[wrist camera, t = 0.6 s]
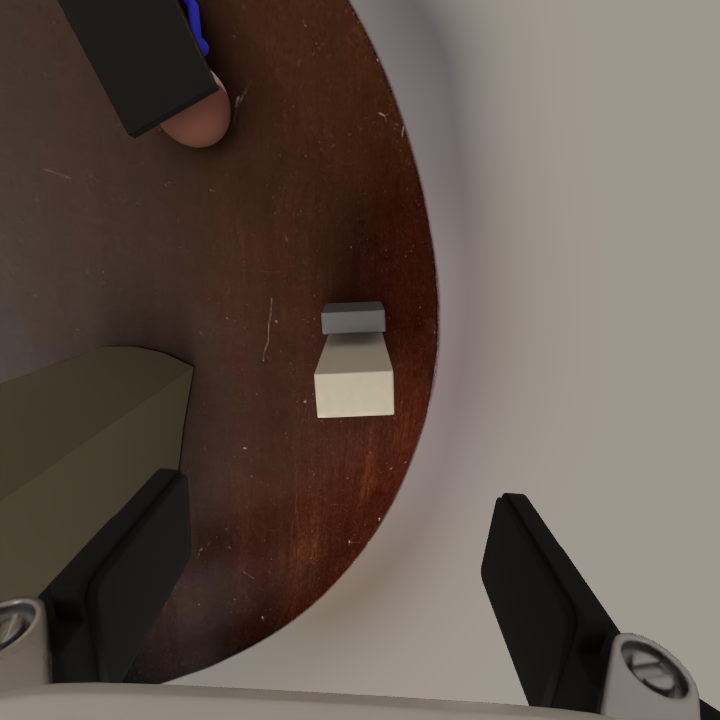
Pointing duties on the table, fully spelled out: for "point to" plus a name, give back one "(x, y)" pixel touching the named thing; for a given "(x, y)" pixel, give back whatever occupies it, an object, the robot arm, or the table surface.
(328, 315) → the grey rectangular blocks
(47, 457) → the book
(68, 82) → the table surface
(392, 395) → the beige rectangular block
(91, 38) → the figurine character
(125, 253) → the table surface
